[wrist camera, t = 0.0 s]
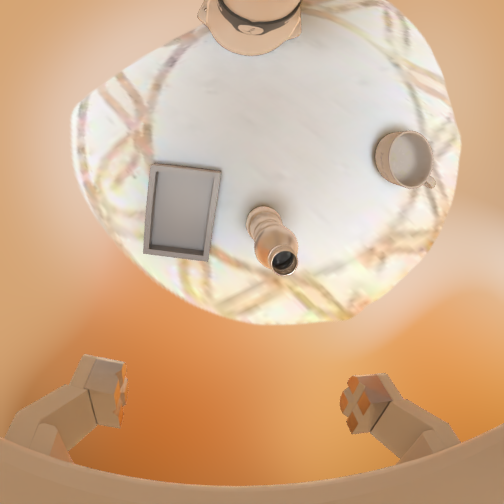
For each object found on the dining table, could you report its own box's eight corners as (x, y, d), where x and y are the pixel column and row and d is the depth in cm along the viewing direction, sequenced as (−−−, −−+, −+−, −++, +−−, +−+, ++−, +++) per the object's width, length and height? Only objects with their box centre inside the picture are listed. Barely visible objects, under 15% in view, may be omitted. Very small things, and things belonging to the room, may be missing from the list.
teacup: (358, 153, 55) (378, 156, 48) (392, 119, 53) (415, 119, 46) (396, 202, 60) (417, 212, 53) (427, 169, 58) (449, 176, 51)
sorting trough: (154, 163, 52) (150, 164, 49) (220, 171, 54) (221, 173, 51) (147, 246, 57) (143, 253, 54) (208, 254, 59) (208, 261, 56)
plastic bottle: (253, 243, 60) (271, 294, 41) (238, 212, 57) (250, 252, 39) (284, 229, 59) (316, 273, 41) (270, 197, 57) (298, 229, 38)
